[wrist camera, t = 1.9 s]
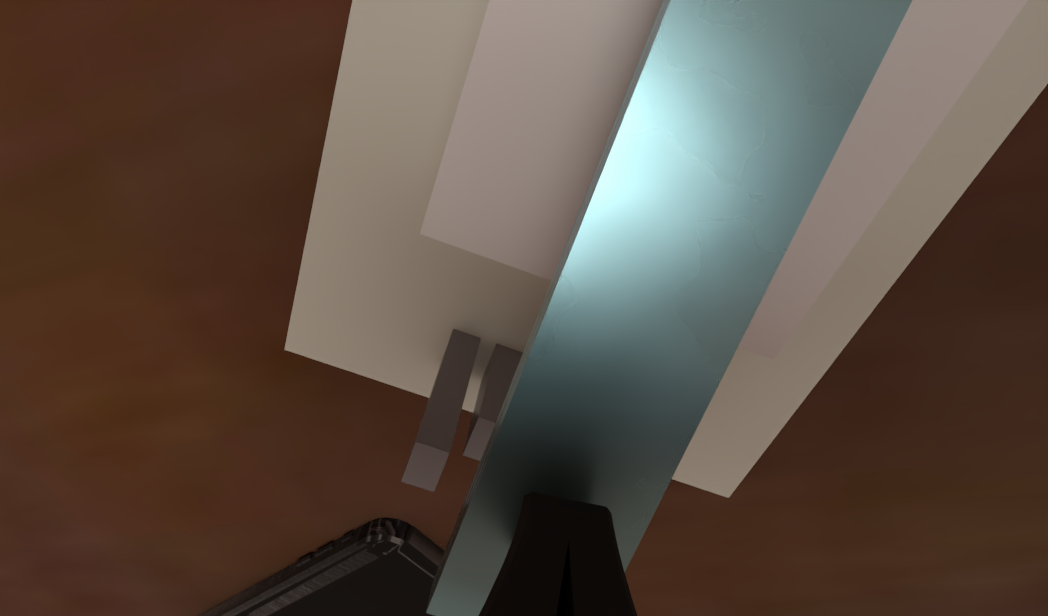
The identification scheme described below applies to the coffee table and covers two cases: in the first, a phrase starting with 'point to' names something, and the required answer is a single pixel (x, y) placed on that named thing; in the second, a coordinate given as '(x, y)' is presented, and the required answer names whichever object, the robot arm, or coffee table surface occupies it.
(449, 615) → the retention strap
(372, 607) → the phone
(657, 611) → the coffee table surface
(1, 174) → the coffee table surface
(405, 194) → the socket board
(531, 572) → the robot arm
